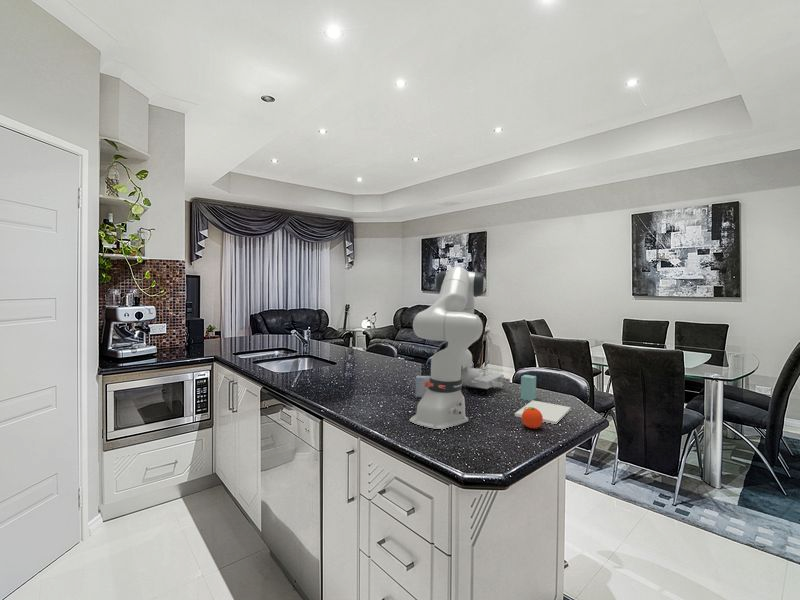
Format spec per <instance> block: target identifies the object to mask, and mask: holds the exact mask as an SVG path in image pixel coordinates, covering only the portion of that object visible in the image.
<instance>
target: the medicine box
mask: <svg viewBox="0 0 800 600" xmlns="http://www.w3.org/2000/svg"><path fill="white" fill-rule="evenodd" d="M430 377H431V375H416V376H415V396H414V397H415V398H422V397H423V396H424V394H425V393H426V392H427V390H428V387H425V386H424V383H425V381H428V382H429V379H430Z"/></svg>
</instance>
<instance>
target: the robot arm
mask: <svg viewBox="0 0 800 600" xmlns="http://www.w3.org/2000/svg"><path fill="white" fill-rule="evenodd" d="M485 276H486V275H484V274H483V273H482V272H479V271H478V272H477V271H475V272H474V271H468V270H467V269H466V268H464V267H462V266H453V267H451V268H449V269H448V270H442V271H441V270H440V271H439V272H438V273H437V274H436V277H435V280H434V285H435V289H436V291H437V292H438V294H439V295H438V297H437V299H436V300H435V301H434V302H433V304H432V305H431V306H429V307H427V308H426V309H424V310H422V311H418V313H417V314H416V315H415V316H414V317H413V318H414V319H413V322H412V329H413V332H414V334H415V336H417V337H418V338H421V339H424V340H428V341H437V342H438V341H440V342H441V341H442V342H445V347H444V349H443V348H442V349H441V350H438V351H437V352H435V353H434V354H433V355H432V357H431V360H430V361H431V362H430V376H431V377H430V379H429V382H428V381H425V383H424V386H425V387H428V390H427V392H426V393H425V394H424V396H423V397H421V399H420V400H419V402H418V403H417V405H416V413H415V415H413V416H411V418H409V420H408V421H410V422H412V423H414V424H417V425H420V426H424V427H428V428H433V429H441V430H440V431H444V430H443V429H445V430H447V429H446V428H448V429H450V428H449V427H451V428H453V426H454V427H456V426H459V425H462V424H464V423H467V422H469V418H468V416H466V403H465V402H466V400H465V396H464V395H463V392H462V389H463V386H467V387H471V388H477V389H484V390H488V389H489V388H490V389H491V388H493V387H495V388H497V387H498V388H502V387H503V384H504V383H505V384H509V383H511V379H510V378H507V377H504V374H503V373H501V372H496V371H493V370H489V369H486V368H482V369H481V368H475V367H473V366H472V365H473V354H472V352H471V351H470V350H469V347H470V346H471V345H473V343H475V342H476V341H478V340H479V339H480V338H481V336H482V334H483V330H484V326H483V324H484V323H483V321H482V319H481V317H479V315H478V314H475V298H477V297H481V296H482V295H484V293H485V290H486V288H487V281H486V280H487V279H486V277H485ZM410 422H409V423H410ZM412 423H411V424H412ZM414 424H413V425H414ZM417 425H416V426H417ZM420 426H419V427H420ZM428 428H427V429H428ZM433 429H432V430H433Z"/></svg>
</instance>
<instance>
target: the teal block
mask: <svg viewBox="0 0 800 600" xmlns="http://www.w3.org/2000/svg"><path fill="white" fill-rule="evenodd" d="M536 393H537V375H530V374H524V375H522V376H521V377H520V400H521V399H523V400H524V401H527V400H528V402H531V401H532V400H534V399H535V400H536V398H537V396H536V395H537V394H536ZM523 400H522V401H523ZM535 400H534V401H535Z"/></svg>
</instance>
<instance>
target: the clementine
mask: <svg viewBox="0 0 800 600" xmlns="http://www.w3.org/2000/svg"><path fill="white" fill-rule="evenodd" d="M526 408H527V409H526ZM526 408H524V412H523V413H522V418H521V421H522V423H523V424H524V425H525V426H526V427H527V428H529V429H532V428H533V429H538V428H539V427H540V426H542V424H543V423H544V422H543V416H542V414H541V412H540V411H539V410H538V409H536V408H533V407H526Z"/></svg>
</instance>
